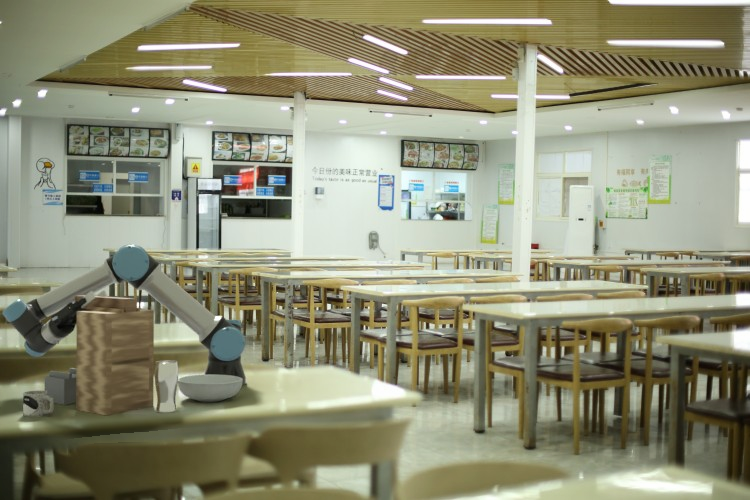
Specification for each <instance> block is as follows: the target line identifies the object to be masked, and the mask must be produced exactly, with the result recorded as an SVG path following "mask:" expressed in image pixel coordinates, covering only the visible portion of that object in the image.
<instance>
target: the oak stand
mask: <svg viewBox="0 0 750 500" xmlns="http://www.w3.org/2000/svg"><path fill="white" fill-rule="evenodd" d="M154 317H155V310H154V309H143V308H141V307H136V312H124V309H114V308H101V307H92V310H89V311H77V324H76V355H75V356H76V359H75V360H76V403H75V404H76V406H75V407H76V408H75V410H76V411H79V412H80V411H81V412H86V413H92V414H96V415H101V416H102V415H103V416H111V415H115V414H120V413H125V412H131V411H135V410H140V409H146V408H150V407H154V381H155V367H154V365H155V364H154V363H155V362H154V354H155V353H154V350H155V348H154V347H155V346H154V345H155V340H154V338H155V337H154V336H155V329H154V328H155V322H154V321H155V320H154V319H155V318H154Z"/></svg>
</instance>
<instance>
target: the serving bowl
mask: <svg viewBox="0 0 750 500" xmlns="http://www.w3.org/2000/svg"><path fill="white" fill-rule="evenodd" d="M242 382H243V379H242V378H240V377H237V376H231V375H213V374H208V375H204V374H194V375H186V376H181V377H178V384H177V387H178V388H179V389H178V390H179V391H180V393H182V395H184V397H186V398H189V399H191V400H196V401H197V402H202V403H206V402H207V403H213V402H221V401H224V400H227V399H230V398H233V397H234V396H236V395H237V394H238V393H239V392H240V390H241V388H242V386H243V385H242Z"/></svg>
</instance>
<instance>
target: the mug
mask: <svg viewBox="0 0 750 500" xmlns="http://www.w3.org/2000/svg"><path fill="white" fill-rule="evenodd" d="M22 395H23V396H22V401H23V402H22V403H23V404H22V408H23V409H22V416H23V417H25V418H27V417H28V418H37V417H38V418H39V417H45V416H47V415H48V414H52V413H53V412H54V410H55V409H54V408H55V403H54V400H53V398H52V397H49V396H47V391H45V390H28V391H24V392H23V393H22ZM47 400H49V401H50V402H49V409H48V402H47Z"/></svg>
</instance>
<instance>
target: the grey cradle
mask: <svg viewBox="0 0 750 500" xmlns="http://www.w3.org/2000/svg"><path fill="white" fill-rule="evenodd" d="M44 391H47V396H49V397H52V398H53V400H54V404H56V405H57V404H58V405H63V406H65V405H70V404H76V368H74V367H69V369H68V372H63V371H58V370H49V375H45V376H44ZM47 403H50V401H49V400H47Z"/></svg>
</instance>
